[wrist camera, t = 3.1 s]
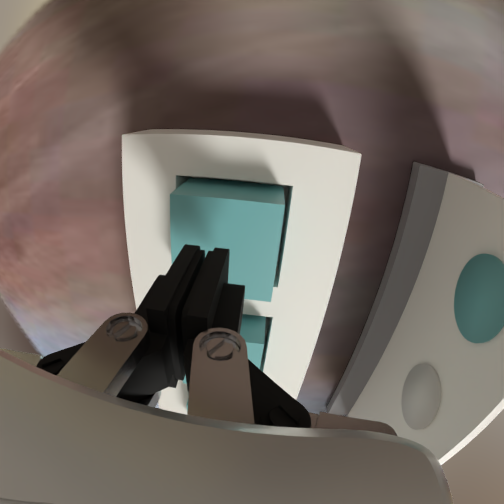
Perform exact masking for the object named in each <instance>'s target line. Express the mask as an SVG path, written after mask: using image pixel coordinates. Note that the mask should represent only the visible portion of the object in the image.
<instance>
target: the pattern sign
mask: <svg viewBox="0 0 504 504" xmlns="http://www.w3.org/2000/svg"><path fill="white" fill-rule="evenodd" d="M503 409H504V198H502V197H501V196H499V195H497V194H495V193H493V192H491V191H489V190H487V189H485V188H483V184H481V183H479V182H477V181H475V180H472V179H469V178H466V177H463V176H460V175H457V174H454V173H451V172H448V171H445V170H442V169H438V168H435V167H432V166H428V165H425V164H421V163H418V162H414V161H413V166H412V171H411V176H410V181H409V186H408V190H407V195H406V199H405V203H404V207H403V211H402V215H401V219H400V223H399V226H398V230H397V233H396V237H395V240H394V244H393V247H392V250H391V254H390V257H389V260H388V263H387V266H386V269H385V272H384V275H383V278H382V281H381V284H380V287H379V290H378V293H377V295H376V298H375V301H374V304H373V306H372V309H371V311H370V314H369V317H368V319H367V322H366V324H365V327H364V329H363V331H362V334H361V336H360V339H359V341H358V343H357V346H356V348H355V350H354V352H353V355H352V357H351V359H350V361H349V364H348V366H347V368H346V370H345V372H344V374H343V376H342V378H341V380H340V382H339V384H338V386H337V388H336V390H335V392H334V394H333V396H332V398H331V400H330V402H329V404H328V406H327V413H330V414H335V415H348V417H352V418H358V419H365V420H371V421H379V422H383V423H386V424H388V425H389V426H391V427H392V428H393V429H394V431H395V432H396V434H397V436H398V437H402V438H406V439H409V440H411V441H414V442H417V443H419V444H421V445H423V446H424V447H426V448H427V449H429V450H430V451H431V452H432V453H433V454H434V455H435V457H436V458H437V460H438V461H439V463H440V465H442V464H443V463H445V462H446V461H447V460H448V459H450V458H451V457H452V456H453V455H455V454H456V453H457V452H458V451H459V450H461V449H462V448H463V447H464V446H465V445H467V444H468V443H469V442H470V441H471V440H472V439H473V438H474V437H475V436H477V435H478V434H479V433H480V432H481V431H482V430H483V429H484V428H485V427H486V426H487V425H488V424H489V423H490V422H491V421H492V420H493V419H494V418H495V417H496V416H497V415H498V414H499V413H500V412H501V411H502V410H503Z"/></svg>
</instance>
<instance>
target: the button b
mask: <svg viewBox="0 0 504 504" xmlns="http://www.w3.org/2000/svg"><path fill="white" fill-rule="evenodd" d="M265 322H266V317H265V316H256V315H248V314H243V315H242V323H241V330H240V335H241V336H242V337H243V338H244V340H245V342H246V345H247V354H248V359H249V360H250V361H251V362H252V363H253V364H254V365H256V366H257V367H258V368H259V369H260V365H261V359H262V353H263V348H264V338H265ZM183 383H184V384H187V382H186V374H185V377H184V380H183Z"/></svg>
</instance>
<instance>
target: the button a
mask: <svg viewBox="0 0 504 504" xmlns="http://www.w3.org/2000/svg"><path fill="white" fill-rule="evenodd" d="M284 209H285V200H284V190H283V186H278V185H269V184H260V183H251V182H241V181H230V180H218V179H206V178H189V179H188V180H187V181H186V182H184V183H183V184H182V185H181V186H179V187H178V188H177V189H175V190H174V191H173V192H172V193H171V194H170V235H171V260H172V264H173V262H174V261H175V259H176V257H177V256H178V254H179V253H180V251H181V249H182V248H183V246H184V245H185V244H189V245H198V246H200V250H205V257H206V255H207V253H208V251H213V250H214V248H215V247H216V248H225V249H229V250H230V256H229V273H228V283H229V284H238V285H245V296H244V299H249V300H257V301H266V302H271V298H272V292H273V285H274V279H275V272H276V266H277V259H278V252H279V245H280V238H281V231H282V224H283V217H284Z"/></svg>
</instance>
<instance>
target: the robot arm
mask: <svg viewBox="0 0 504 504" xmlns="http://www.w3.org/2000/svg"><path fill="white" fill-rule="evenodd" d="M229 256H230V250H229V249H225V248H216V247H215V248H214V250H213V251H208V253H207V255H206V257H205V250H200V246H198V245H189V244H185V245H184V246H183V248H182V249H181V251H180V253H179V254H178V256H177V257H176V259H175V261H174V262H173V264H172V265H171V267H170V269H169V270H168V272H167V273H166V275H159V276H158V277H157V278H156V280H155V281H154V283H153V284H152V286H151V288H150V289H149V291H148V292H147V294H146V296H145V297H144V299H143V300H142V302H141V304H140V305H139V307H138V308H137V310H136V312H135V313H120V314H116V315H113V316H111V317H110V318H108V319H107V320H106V321H105V322H104V323H103V324H102V325H101V326H100V327H99V328H98V329H97V330H96V332H95V333H94V334H93V335H92V336H91V337H90V338H89V339H88V340H87V341H86V342H84V343H81V344H78V345H76V346H73V347H70V348H67V349H64V350H61V351H58V352H55V353H52V354H49V355H47V356H45V357H44V358H43V357H42V356H41V355H37V354H31V353H25V352H20V351H14V350H9V349H0V504H453V499H452V495H451V492H450V488H449V485H448V482H447V479H446V477H445V474H444V472H443V469H442V467H441V465H440V463H439V461H438V460H437V458H436V457H435V455H434V454H433V453H432V452H431V451H430V450H429V449H427V448H426V447H424V446H423V445H421V444H419V443H417V442H414V441H411V440H409V439H406V438H402V437H398V436H397V434H396V432H395V431H394V429H393V428H392V427H391V426H389V425H388V424H386V423H383V422H379V421H371V420H365V419H358V418H352V417H346V416H341V415H335V414H330V413H325V412H320V413H319V415H318V414H313V413H309V412H308V411H307V410H306V409H305V408H304V406H303V405H301V404H300V403H299V402H298V401H297V400H295V399H294V398H293V397H292V396H290V395H289V394H288V393H287V392H286V391H284V390H283V389H282V388H281V387H280V386H279V385H277V384H276V383H275V382H274V381H273V380H272V379H270V378H269V377H268V376H267V375H266V374H265V373H263V372H262V371H261V370H260V369H259V368H258V367H257V366H256V365H254V364H253V363H252V362H251V361H250V360H249V359H248V354H247V345H246V342H245V340H244V338H243V337H242V336H241V335H240V330H241V323H242V315H243V307H244V296H245V285H238V284H229V283H228V273H229ZM185 374H186V382H187V390H188V392H189V398H188V411H187V415H186V414H181V413H177V412H172V411H167V410H163V409H159V408H155V406H156V404H157V403H158V401H159V399H160V396H161V390H163V389H165V388H167V387H172V388H176V386H177V383H178V380H182V381H183V380H184V377H185Z"/></svg>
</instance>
